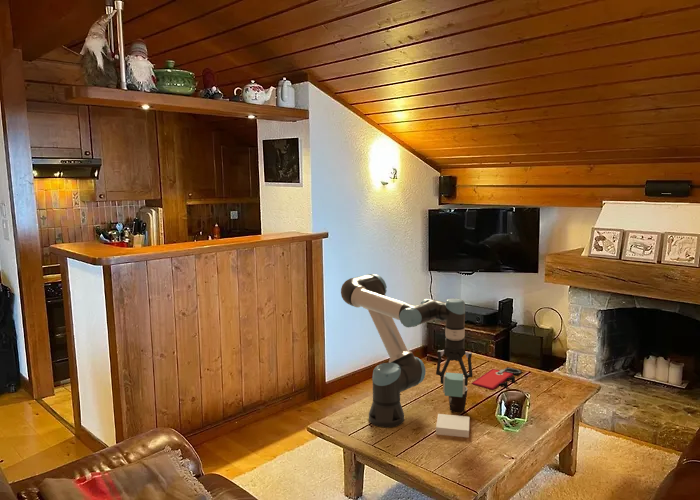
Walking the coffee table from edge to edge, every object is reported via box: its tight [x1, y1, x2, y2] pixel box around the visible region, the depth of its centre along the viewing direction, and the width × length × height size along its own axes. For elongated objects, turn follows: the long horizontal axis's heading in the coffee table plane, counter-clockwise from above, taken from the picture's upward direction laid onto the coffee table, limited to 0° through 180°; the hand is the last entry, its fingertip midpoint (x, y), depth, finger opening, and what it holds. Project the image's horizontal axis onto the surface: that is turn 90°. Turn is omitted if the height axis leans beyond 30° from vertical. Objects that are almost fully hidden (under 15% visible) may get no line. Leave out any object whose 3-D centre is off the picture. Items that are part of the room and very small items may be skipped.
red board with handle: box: [471, 366, 523, 391], centre depth 273 cm, size 30×3×15 cm
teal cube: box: [444, 371, 464, 397], centre depth 220 cm, size 7×7×7 cm
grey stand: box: [435, 413, 470, 439], centre depth 223 cm, size 13×12×3 cm
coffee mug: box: [448, 386, 468, 414], centre depth 241 cm, size 12×9×10 cm
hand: (453, 391), depth 220 cm, fingers closed on teal cube, 7 cm apart
